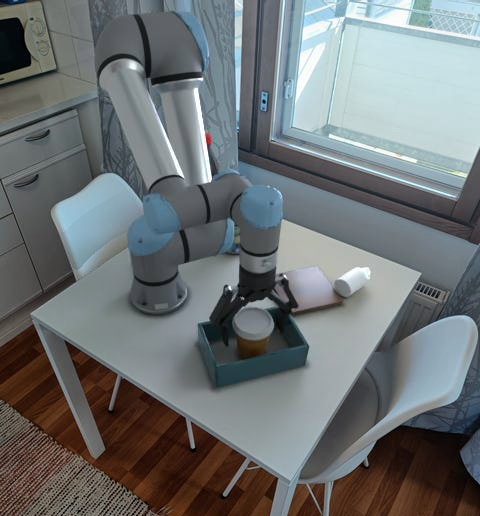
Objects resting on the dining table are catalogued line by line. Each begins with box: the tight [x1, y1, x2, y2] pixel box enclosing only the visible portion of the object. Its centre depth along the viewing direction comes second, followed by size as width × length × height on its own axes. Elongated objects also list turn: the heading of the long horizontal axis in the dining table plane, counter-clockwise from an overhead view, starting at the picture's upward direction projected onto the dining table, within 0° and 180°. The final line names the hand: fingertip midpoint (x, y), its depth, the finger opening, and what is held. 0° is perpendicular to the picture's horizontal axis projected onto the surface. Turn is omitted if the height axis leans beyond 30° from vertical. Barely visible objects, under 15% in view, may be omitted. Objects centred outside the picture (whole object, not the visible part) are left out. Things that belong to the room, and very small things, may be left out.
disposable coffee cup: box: [232, 306, 275, 361], centre depth 104 cm, size 10×10×12 cm
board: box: [273, 265, 344, 317], centre depth 124 cm, size 16×16×2 cm
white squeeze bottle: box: [333, 266, 372, 298], centre depth 125 cm, size 6×12×6 cm, turn 132°
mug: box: [225, 222, 240, 255], centre depth 134 cm, size 12×9×11 cm
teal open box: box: [197, 305, 310, 389], centre depth 106 cm, size 15×23×7 cm, turn 109°
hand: (253, 336), depth 103 cm, fingers open, 13 cm apart
